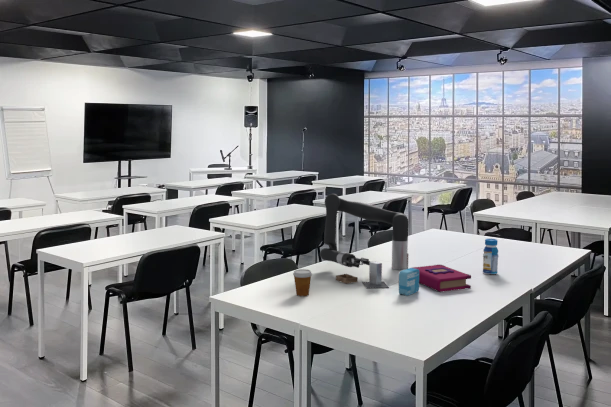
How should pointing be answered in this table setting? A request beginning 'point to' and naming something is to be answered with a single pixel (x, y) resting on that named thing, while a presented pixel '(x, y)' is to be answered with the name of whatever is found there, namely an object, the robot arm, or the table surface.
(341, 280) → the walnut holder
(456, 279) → the book
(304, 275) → the disposable coffee cup
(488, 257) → the beverage bottle
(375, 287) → the black mat
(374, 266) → the light grey rectangular block
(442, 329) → the table surface
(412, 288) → the data package
